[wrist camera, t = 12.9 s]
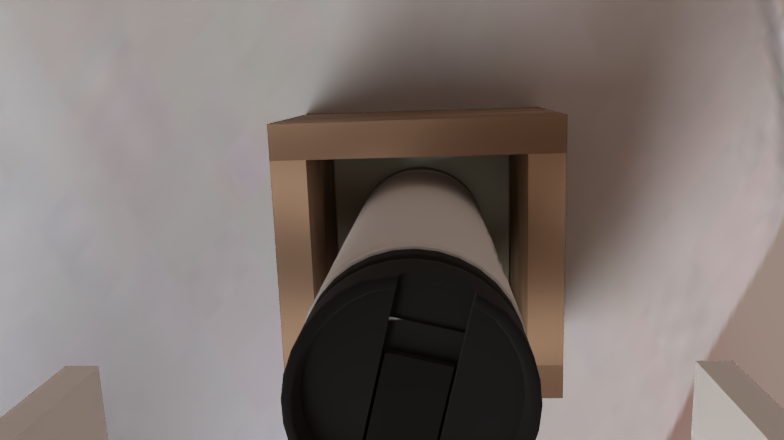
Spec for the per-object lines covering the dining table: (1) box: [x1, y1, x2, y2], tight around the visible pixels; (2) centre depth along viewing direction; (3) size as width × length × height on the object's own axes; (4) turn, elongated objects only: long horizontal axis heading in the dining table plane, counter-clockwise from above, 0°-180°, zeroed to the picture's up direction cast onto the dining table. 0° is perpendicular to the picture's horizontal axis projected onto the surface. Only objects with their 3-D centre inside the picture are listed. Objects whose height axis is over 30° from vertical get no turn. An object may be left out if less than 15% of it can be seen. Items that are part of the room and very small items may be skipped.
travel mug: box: [281, 167, 542, 440], centre depth 25 cm, size 6×7×20 cm
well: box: [267, 107, 567, 398], centre depth 32 cm, size 12×12×8 cm
